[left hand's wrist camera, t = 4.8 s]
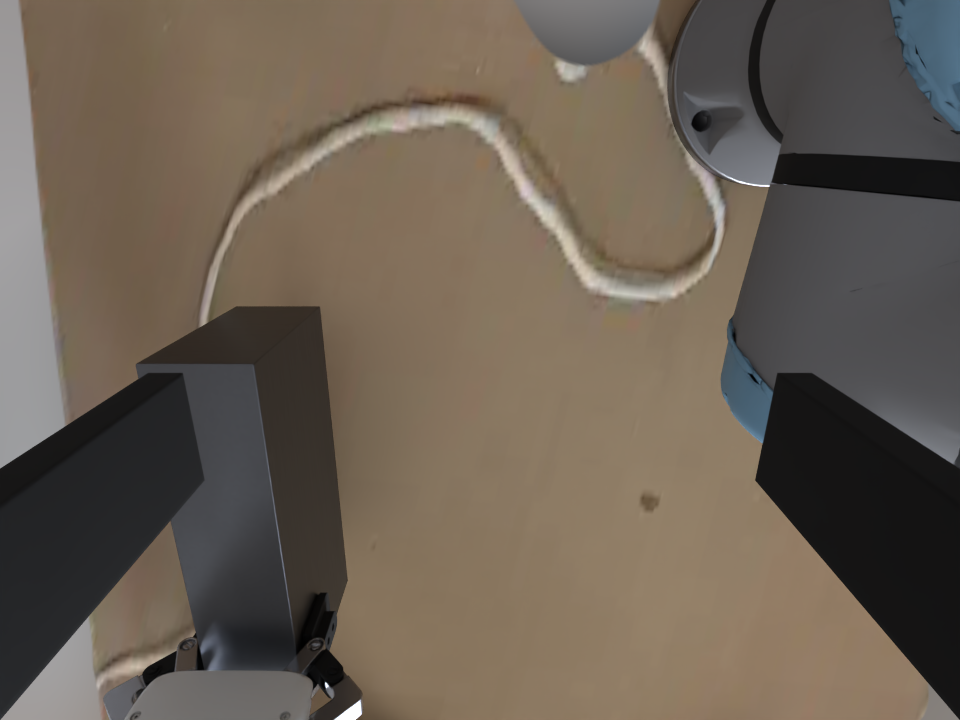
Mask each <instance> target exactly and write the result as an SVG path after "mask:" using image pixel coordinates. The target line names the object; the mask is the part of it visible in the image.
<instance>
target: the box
mask: <svg viewBox="0 0 960 720" xmlns="http://www.w3.org/2000/svg"><path fill="white" fill-rule="evenodd" d="M136 369H137V373H138V378H141V377H142V376H144V375H145V374H147V373H183V376H184V381H185V386H186V391H187V396H188V401H189V406H190V410H191V415H192V420H193V425H194V430H195V435H196V440H197V445H198V450H199V455H200V459H201V464H202V469H203V474H204V479H205V481H204V482H203V483H202V484H201V485H200V486H199V488H198V489H197V490H196V491H195V492H194V493H193V495H192V496H191V497H190V498H189V499H188V500H187V502H186V503H185V504H184V505H183V506H182V508H181V509H180V510H179V511H178V512H177V513H176V515H175V516H174V517H173V518H172V519H171V524H172V529H173V533H174V537H175V542H176V546H177V551H178V555H179V560H180V564H181V568H182V573H183V577H184V582H185V586H186V591H187V595H188V600H189V604H190V608H191V613H192V617H193V622H194V626H195V631H196V635H197V639H198V644H199V648H200V653H201V657H202V662H203V666H204V670H205V671H210V670H244V671H283V670H284V669H285V667H286V666H287V665H288V664H289V663H290V662H291V661H292V660H293V658H294V657H295V656H296V655H297V654H298V653H299V652H300V650H301V649H302V648H303V647H304V642H303V632H304V629H305V626H306V624H307V621H308V618H309V616H310V613H311V610H312V608H313V605H314V603H315V600H316V597H317V595H318V594H320V592H328V596H329V604H330V611H336V615H337V612H338V609H339V606H340V602H341V599H342V596H343V593H344V590H345V587H346V584H347V581H348V580H347V570H346V560H345V550H344V540H343V530H342V521H341V511H340V501H339V491H338V481H337V471H336V461H335V451H334V442H333V432H332V422H331V412H330V402H329V392H328V382H327V372H326V362H325V353H324V343H323V333H322V323H321V313H320V307H235V308H233V309H231V310H229V311H228V312H226V313H224V314H222V315H221V316H219V317H217V318H215V319H214V320H212V321H210V322H209V323H207V324H205V325H203V326H202V327H200V328H198V329H196V330H195V331H193V332H191V333H189V334H188V335H186V336H184V337H182V338H181V339H179V340H177V341H175V342H174V343H172V344H170V345H168V346H167V347H165V348H163V349H161V350H160V351H158V352H156V353H154V354H153V355H151V356H149V357H147V358H146V359H144V360H142V361H140V362H139V363H137V364H136Z"/></svg>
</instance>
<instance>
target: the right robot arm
mask: <svg viewBox="0 0 960 720" xmlns="http://www.w3.org/2000/svg"><path fill="white" fill-rule="evenodd" d="M336 626H337V615H336V611H330V604H329V596H328V592H320V594H318V595H317V597H316V600H315V603H314V605H313V608H312V610H311V613H310V616H309V618H308V621H307V624H306V626H305V629H304V632H303V642H304V647H303V648H302V649H301V650H300V652H299V653H298V654H297V655H296V656H295V657H294V658H293V660H292V661H291V662H290V663H289V664H288V665H287V666H286V667H285V669H284V670H283V671H244V670H210V671H205V670H204V666H203V662H202V657H201V653H200V648H199V644H198V639H197V635H196V633H195V635H194V636H193V637H190V638H186V639H184V640H183V641H181V642H180V643H179V645H178V647H177V651H175V652H174V653H172V654H170V655H168V656H166V657H164V658H163V659H161V660H159V661H157V662H155V663H154V664H152V665H150V666H148V667H147V668H146V669H145V670H144V672H143V674H142V675H141V676H139V677H138V675H137V676H135V677H134V678H132V679H130V680H128V681H126V682H125V683H123V684H121V685H119V686H117V687H116V688H114V689H112V690H110V691H109V692H108V693H107V694H106V695H105V696H104V698H103V701H104V704H105V707H106V710H107V714H108V716H109V719H110V720H355V719H356V718H358V717H359V716H360V715H361V714H362V713H363V711H364V704H363V694H362V691H361V690H360V689H359V687H358V686H357V685H356V684H355V683H354V681H353V680H352V679H351V678H350V677H349V676H347V675H346V673H345V672H344V671H343V667H342V665H341V664H340V663H339V662H338V661H337V659H336V658H335V657H334V656H333V655H332V654H331V653H330V651H329V650H330V647H331V644H332V641H333V637H334V634H335V631H336ZM320 688H321V689H322V690H323V692H324V693H325V694H326V695H327V696H328V697H329V698H331V699H332V700H331V701H330V702H328V703H327V704H325V705H324V706H323V707H321V708H320V709H318V710H317V711H316V712H314V713H313V714H312V715H310V709H311V703H312V701H311V699H312V697H313V696H314V695H315V694H316V692H317V691H318V690H319V689H320ZM309 715H310V716H309Z"/></svg>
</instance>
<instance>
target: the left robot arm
mask: <svg viewBox="0 0 960 720" xmlns="http://www.w3.org/2000/svg"><path fill="white" fill-rule="evenodd" d="M668 101H669V108H670V113H671V117H672V121H673V124H674V127H675V129H676V132H677V134H678V136H679V138H680V140H681V142H682V143H683V145H684V147H685V148H686V150H687V151H688V152H689V153H690V155H691V156H692V157H693V158H694V159H695V160H696V161H697V162H698V163H699V164H700V165H701V166H702V167H704V168H705V169H706V170H708V171H709V172H711V173H712V174H714V175H716V176H718V177H720V178H722V179H725V180H728V181H730V182H734V183H738V184H744V185H753V186H770V187H769V190H768V194H767V198H766V202H765V205H764V209H763V213H762V216H761V220H760V224H759V227H758V231H757V234H756V238H755V241H754V245H753V249H752V252H751V256H750V259H749V263H748V266H747V270H746V273H745V277H744V281H743V284H742V288H741V291H740V295H739V298H738V302H737V306H736V309H735V313H734V315H733V317H732V318H731V319H730V320H729V323H728V328H727V338H728V345H727V350H726V355H725V359H724V364H723V369H722V373H721V389H722V394H723V396H724V398H725V400H726V402H727V404H728V405H729V406H730V409H731V412H732V414H733V415H734V417H735V418H736V419H737V420H738V421H739V422H740V424H741V425H742V426H743V427H744V428H745V429H746V430H747V431H748V432H749V433H750V434H752V435H753V436H754V437H755V438H756V439H758V440H759V441H760V442H761V443H763V445H762V450H761V455H760V459H759V464H758V469H757V474H756V479H755V481H756V482H757V483H758V484H759V485H760V486H761V488H762V489H763V490H764V491H765V492H766V493H767V495H768V496H769V497H770V498H771V499H772V500H773V502H774V503H775V504H776V505H777V506H778V508H779V509H780V510H781V511H782V512H783V513H784V515H785V516H786V517H787V518H788V519H789V520H790V522H791V523H792V524H793V525H794V526H795V527H796V529H797V530H798V531H799V532H800V533H801V534H802V536H803V537H804V538H805V539H806V540H807V541H808V543H809V544H810V545H811V546H812V547H813V549H814V550H815V551H816V552H817V553H818V554H819V556H820V557H821V558H822V559H823V560H824V561H825V563H826V564H827V565H828V566H829V567H830V568H831V570H832V571H833V572H834V573H835V574H836V575H837V577H838V578H839V579H840V580H841V581H842V582H843V584H844V585H845V586H846V587H847V588H848V590H849V591H850V592H851V593H852V594H853V595H854V597H855V598H856V599H857V600H858V601H859V602H860V604H861V605H862V606H863V607H864V608H865V609H866V611H867V612H868V613H869V614H870V615H871V616H872V618H873V619H874V620H875V621H876V622H877V624H878V625H879V626H880V627H881V628H882V629H883V631H884V632H885V633H886V634H887V635H888V636H889V638H890V639H891V640H892V641H893V642H894V643H895V645H896V646H897V647H898V648H899V649H900V650H901V652H902V653H903V654H904V655H905V656H906V657H907V659H908V660H909V661H910V662H911V663H912V665H913V666H914V667H915V668H916V669H917V670H918V672H919V673H920V674H921V675H922V676H923V677H924V679H925V680H926V681H927V682H928V683H929V684H930V686H931V687H932V688H933V689H934V690H935V691H936V693H937V694H938V695H939V696H940V697H941V698H942V700H943V701H944V702H945V703H946V704H947V706H948V707H949V708H950V709H951V710H952V711H953V713H954V714H955V715H956V716H957V717H958V718H959V720H960V0H697V1H696V2H695V3H694V5H693V6H692V8H691V9H690V11H689V13H688V14H687V16H686V18H685V20H684V22H683V24H682V26H681V28H680V31H679V33H678V36H677V38H676V41H675V44H674V47H673V51H672V55H671V60H670V64H669V72H668ZM204 481H205V479H204V474H203V469H202V464H201V459H200V455H199V450H198V445H197V440H196V435H195V430H194V425H193V420H192V415H191V410H190V406H189V401H188V396H187V391H186V386H185V381H184V376H183V373H147V374H145V375H144V376H142V377H141V378H139V379H138V380H136V381H135V382H133V383H132V384H130V385H129V386H127V387H125V388H124V389H122V390H121V391H119V392H118V393H116V394H115V395H113V396H112V397H110V398H108V399H107V400H105V401H104V402H102V403H101V404H99V405H98V406H96V407H95V408H93V409H91V410H90V411H88V412H87V413H85V414H84V415H82V416H81V417H79V418H78V419H76V420H75V421H73V422H71V423H70V424H68V425H67V426H65V427H64V428H62V429H61V430H59V431H58V432H56V433H54V434H53V435H51V436H50V437H48V438H47V439H45V440H44V441H42V442H41V443H39V444H37V445H36V446H34V447H33V448H31V449H30V450H28V451H27V452H25V453H24V454H22V455H21V456H19V457H17V458H16V459H14V460H13V461H11V462H10V463H8V464H7V465H5V466H4V467H2V468H0V720H1V718H2V717H3V716H4V715H5V714H6V713H7V711H8V710H9V709H10V708H11V707H12V706H13V704H14V703H15V702H16V701H17V700H18V698H19V697H20V696H21V695H22V694H23V693H24V691H25V690H26V689H27V688H28V687H29V686H30V684H31V683H32V682H33V681H34V680H35V679H36V677H37V676H38V675H39V674H40V673H41V672H42V670H43V669H44V668H45V667H46V666H47V664H48V663H49V662H50V661H51V660H52V659H53V657H54V656H55V655H56V654H57V653H58V652H59V650H60V649H61V648H62V647H63V646H64V645H65V643H66V642H67V641H68V640H69V639H70V638H71V636H72V635H73V634H74V633H75V632H76V631H77V629H78V628H79V627H80V626H81V625H82V624H83V622H84V621H85V620H86V619H87V618H88V616H89V615H90V614H91V613H92V612H93V611H94V609H95V608H96V607H97V606H98V605H99V604H100V602H101V601H102V600H103V599H104V598H105V597H106V595H107V594H108V593H109V592H110V591H111V590H112V588H113V587H114V586H115V585H116V584H117V582H118V581H119V580H120V579H121V578H122V577H123V575H124V574H125V573H126V572H127V571H128V570H129V568H130V567H131V566H132V565H133V564H134V563H135V561H136V560H137V559H138V558H139V557H140V556H141V554H142V553H143V552H144V551H145V550H146V549H147V547H148V546H149V545H150V544H151V543H152V541H153V540H154V539H155V538H156V537H157V536H158V534H159V533H160V532H161V531H162V530H163V529H164V527H165V526H166V525H167V524H168V523H169V522H170V520H171V519H172V518H173V517H174V516H175V515H176V513H177V512H178V511H179V510H180V509H181V508H182V506H183V505H184V504H185V503H186V502H187V500H188V499H189V498H190V497H191V496H192V495H193V493H194V492H195V491H196V490H197V489H198V488H199V486H200V485H201V484H202V483H203V482H204Z"/></svg>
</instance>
